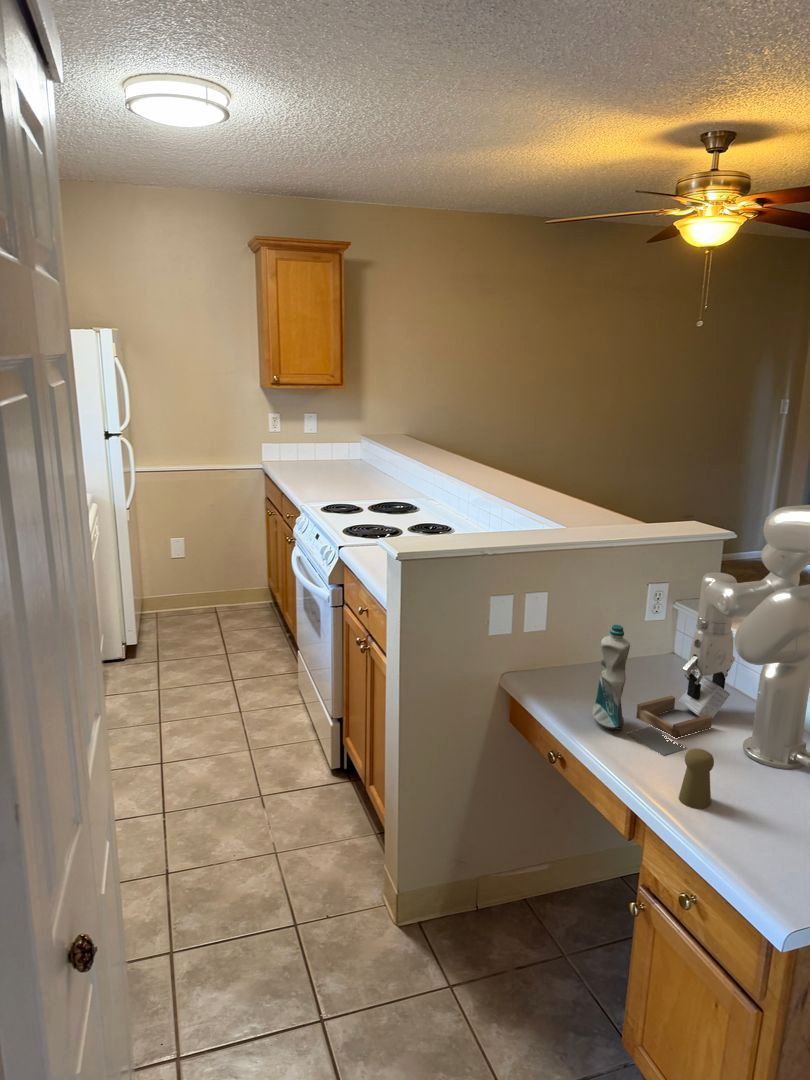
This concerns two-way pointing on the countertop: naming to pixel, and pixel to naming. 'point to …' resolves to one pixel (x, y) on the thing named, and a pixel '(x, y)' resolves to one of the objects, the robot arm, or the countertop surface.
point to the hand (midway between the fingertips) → (705, 693)
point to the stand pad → (655, 741)
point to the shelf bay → (661, 705)
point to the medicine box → (706, 699)
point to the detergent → (611, 680)
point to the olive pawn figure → (697, 779)
